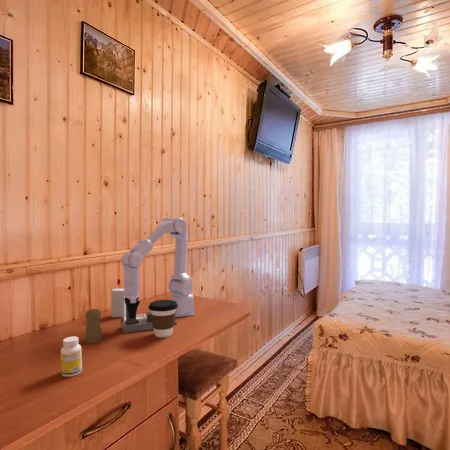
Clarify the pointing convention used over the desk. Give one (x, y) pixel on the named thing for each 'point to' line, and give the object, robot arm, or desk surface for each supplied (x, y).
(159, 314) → the coffee cup
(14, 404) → the desk surface
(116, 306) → the skincare box
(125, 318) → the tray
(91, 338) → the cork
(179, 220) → the robot arm
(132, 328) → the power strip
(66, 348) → the supplement bottle
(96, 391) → the desk surface
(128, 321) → the plug
